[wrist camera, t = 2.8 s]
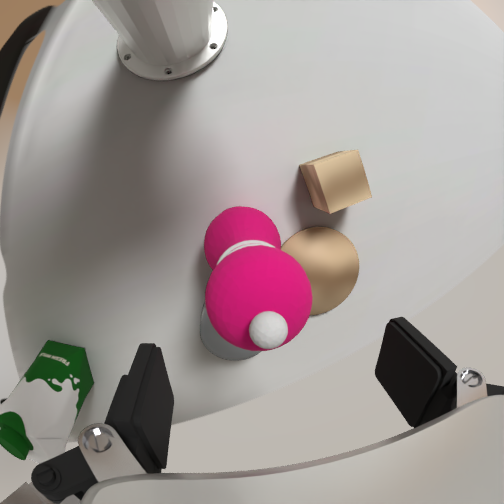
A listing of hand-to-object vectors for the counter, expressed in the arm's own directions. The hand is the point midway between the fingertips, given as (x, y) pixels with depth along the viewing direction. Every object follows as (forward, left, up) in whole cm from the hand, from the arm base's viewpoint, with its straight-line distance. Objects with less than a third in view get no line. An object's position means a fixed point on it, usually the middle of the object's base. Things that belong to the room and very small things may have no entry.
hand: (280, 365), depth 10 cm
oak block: (-6, +10, -22) cm, 25 cm away
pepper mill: (0, 0, -22) cm, 22 cm away
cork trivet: (+5, +9, -22) cm, 24 cm away
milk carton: (+18, -27, -22) cm, 39 cm away
